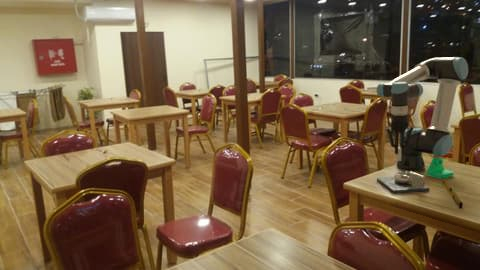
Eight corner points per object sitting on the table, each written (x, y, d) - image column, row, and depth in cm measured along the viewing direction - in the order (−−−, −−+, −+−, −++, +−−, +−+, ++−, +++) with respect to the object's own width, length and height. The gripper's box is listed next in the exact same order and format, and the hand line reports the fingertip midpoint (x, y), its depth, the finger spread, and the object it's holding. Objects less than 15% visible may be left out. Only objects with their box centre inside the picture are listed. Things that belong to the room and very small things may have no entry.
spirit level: (442, 183, 201) (442, 178, 201) (444, 183, 201) (445, 178, 200) (459, 208, 170) (459, 202, 169) (462, 209, 170) (462, 202, 169)
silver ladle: (391, 179, 202) (391, 168, 201) (403, 177, 205) (403, 166, 204) (416, 189, 187) (417, 177, 186) (429, 187, 190) (430, 175, 188)
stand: (411, 178, 210) (411, 169, 209) (431, 191, 190) (432, 181, 189) (376, 181, 209) (376, 172, 208) (393, 194, 189) (393, 184, 188)
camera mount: (438, 180, 206) (439, 161, 204) (426, 176, 212) (427, 158, 210) (454, 176, 210) (455, 158, 208) (441, 173, 217) (442, 155, 215)
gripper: (387, 116, 188) (387, 163, 194) (416, 114, 187) (414, 161, 192) (383, 113, 195) (383, 158, 201) (410, 111, 194) (409, 157, 199)
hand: (398, 160), depth 196 cm, fingers closed
